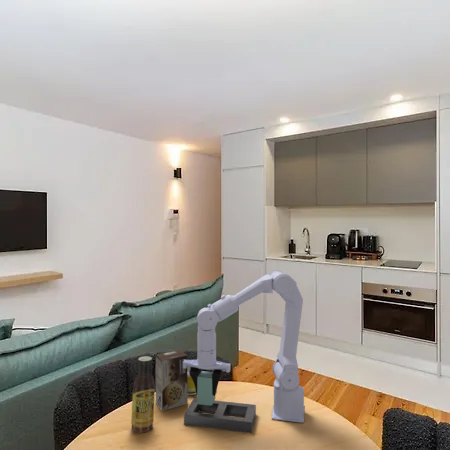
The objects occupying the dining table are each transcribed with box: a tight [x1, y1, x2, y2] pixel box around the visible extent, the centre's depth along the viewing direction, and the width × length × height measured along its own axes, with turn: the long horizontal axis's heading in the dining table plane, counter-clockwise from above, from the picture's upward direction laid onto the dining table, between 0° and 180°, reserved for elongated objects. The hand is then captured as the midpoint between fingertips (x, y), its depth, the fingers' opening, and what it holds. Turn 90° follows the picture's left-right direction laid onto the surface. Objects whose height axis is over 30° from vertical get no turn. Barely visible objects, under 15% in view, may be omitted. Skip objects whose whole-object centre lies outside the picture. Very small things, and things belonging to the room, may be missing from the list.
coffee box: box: [155, 349, 189, 412], centre depth 114 cm, size 9×6×16 cm
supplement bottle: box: [187, 368, 197, 396], centre depth 122 cm, size 5×5×10 cm
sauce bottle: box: [130, 355, 156, 434], centre depth 100 cm, size 6×6×20 cm
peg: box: [196, 370, 216, 406], centre depth 105 cm, size 4×4×8 cm
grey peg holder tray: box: [183, 397, 257, 434], centre depth 104 cm, size 20×10×3 cm, turn 78°
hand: (206, 393), depth 105 cm, fingers closed on peg, 4 cm apart
